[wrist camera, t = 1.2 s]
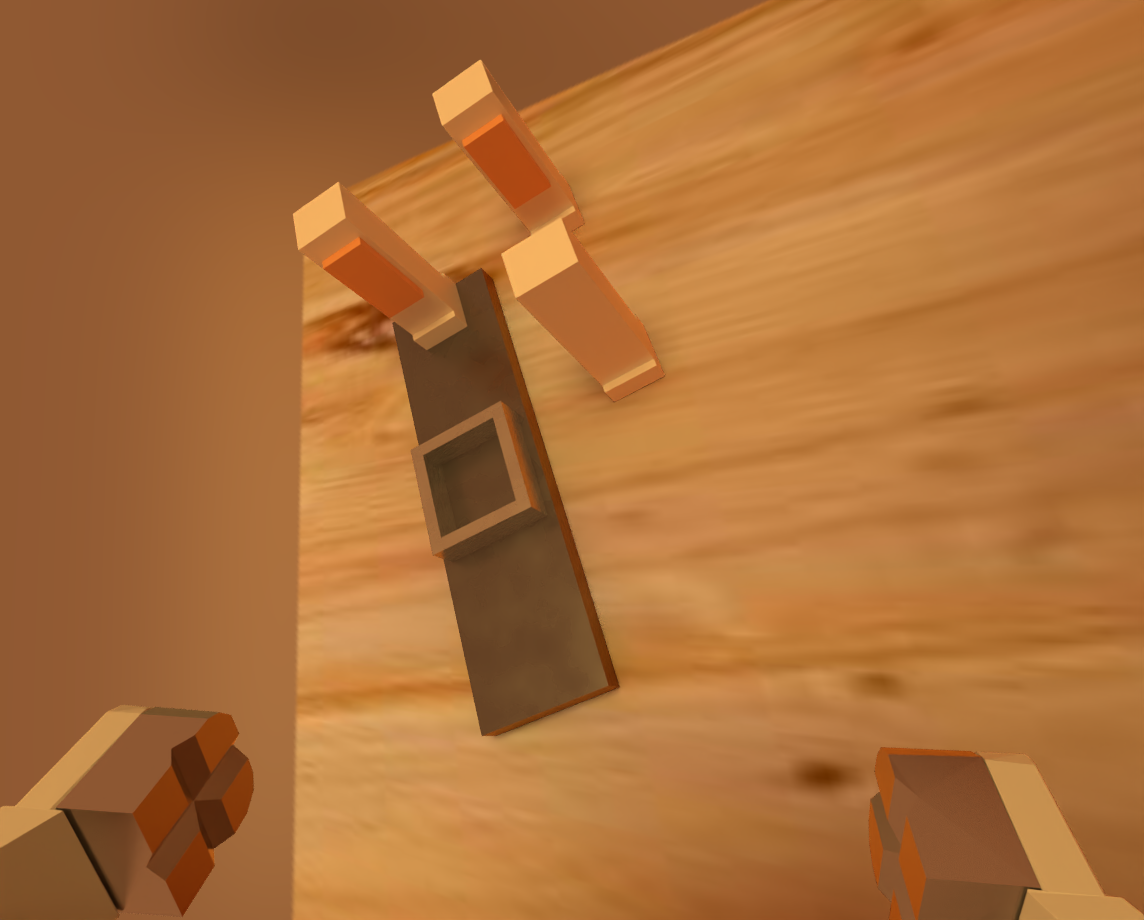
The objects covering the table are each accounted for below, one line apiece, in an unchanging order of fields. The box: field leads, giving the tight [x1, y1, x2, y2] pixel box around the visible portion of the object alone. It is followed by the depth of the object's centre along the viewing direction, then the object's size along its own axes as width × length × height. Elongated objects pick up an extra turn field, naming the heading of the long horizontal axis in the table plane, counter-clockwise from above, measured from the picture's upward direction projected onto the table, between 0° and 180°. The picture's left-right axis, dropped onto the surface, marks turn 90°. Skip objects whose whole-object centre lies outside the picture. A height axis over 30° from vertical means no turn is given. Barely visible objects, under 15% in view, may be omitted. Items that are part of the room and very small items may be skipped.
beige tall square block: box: [501, 217, 665, 402], centre depth 40 cm, size 4×4×12 cm
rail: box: [393, 268, 619, 736], centre depth 46 cm, size 8×30×4 cm, turn 18°
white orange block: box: [432, 60, 585, 235], centre depth 47 cm, size 4×4×12 cm
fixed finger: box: [293, 182, 467, 350], centre depth 47 cm, size 4×4×12 cm
